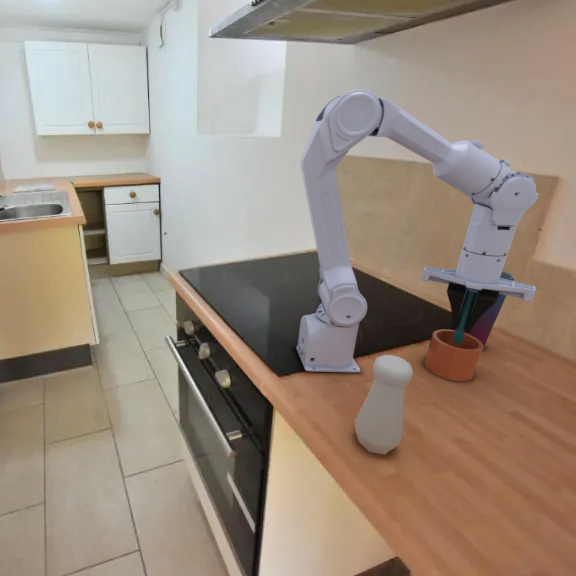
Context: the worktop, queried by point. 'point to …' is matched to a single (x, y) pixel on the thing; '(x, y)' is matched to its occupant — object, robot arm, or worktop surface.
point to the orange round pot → (453, 355)
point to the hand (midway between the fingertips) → (460, 328)
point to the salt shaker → (384, 406)
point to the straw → (464, 316)
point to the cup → (488, 314)
